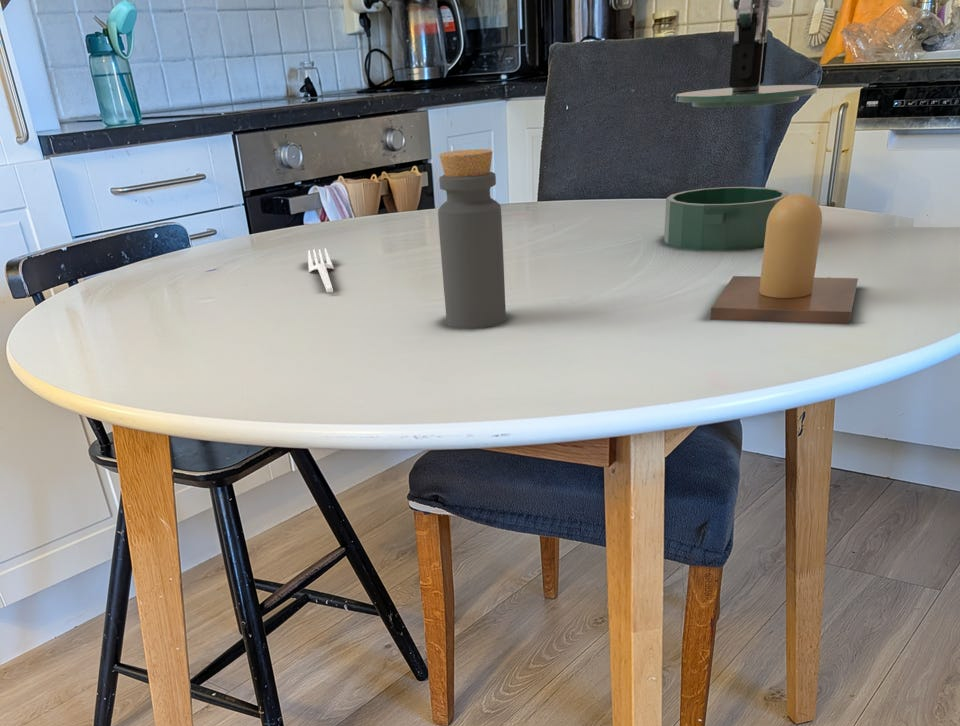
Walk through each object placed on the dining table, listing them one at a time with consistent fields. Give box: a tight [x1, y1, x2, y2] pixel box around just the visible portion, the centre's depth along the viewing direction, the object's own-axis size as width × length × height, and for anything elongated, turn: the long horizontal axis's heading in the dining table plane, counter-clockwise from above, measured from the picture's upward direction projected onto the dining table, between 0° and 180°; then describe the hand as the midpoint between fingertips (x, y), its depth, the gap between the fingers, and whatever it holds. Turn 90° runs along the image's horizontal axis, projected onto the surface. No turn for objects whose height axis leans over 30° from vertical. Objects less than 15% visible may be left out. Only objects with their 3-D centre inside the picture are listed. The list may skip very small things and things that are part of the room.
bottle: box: [437, 148, 507, 330], centre depth 82 cm, size 6×6×15 cm
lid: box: [675, 36, 819, 108], centre depth 98 cm, size 16×16×6 cm
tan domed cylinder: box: [759, 193, 823, 298], centre depth 80 cm, size 5×5×8 cm
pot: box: [663, 186, 790, 251], centre depth 110 cm, size 15×20×6 cm
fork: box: [307, 248, 335, 293], centre depth 108 cm, size 3×20×2 cm, turn 13°
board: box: [709, 275, 859, 325], centre depth 83 cm, size 12×13×2 cm
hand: (746, 84), depth 99 cm, fingers closed on lid, 3 cm apart
